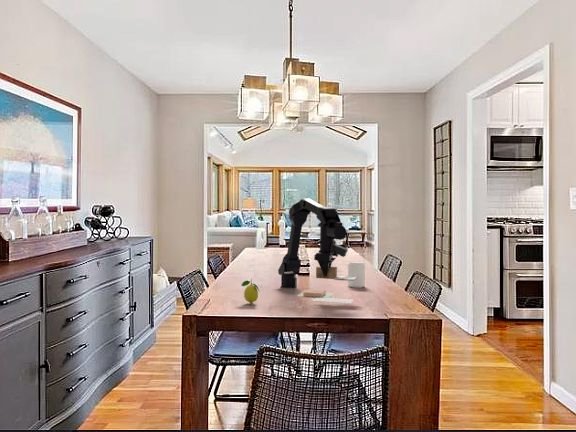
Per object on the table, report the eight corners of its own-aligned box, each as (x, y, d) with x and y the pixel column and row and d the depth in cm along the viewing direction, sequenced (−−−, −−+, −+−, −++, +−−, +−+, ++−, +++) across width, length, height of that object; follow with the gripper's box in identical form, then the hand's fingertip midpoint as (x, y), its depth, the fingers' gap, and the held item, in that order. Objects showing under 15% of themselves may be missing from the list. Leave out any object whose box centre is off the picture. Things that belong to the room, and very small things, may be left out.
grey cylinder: (364, 288, 245) (364, 263, 245) (347, 287, 247) (347, 262, 246) (365, 285, 253) (365, 261, 253) (348, 285, 255) (348, 260, 254)
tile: (308, 292, 229) (303, 296, 222) (308, 289, 229) (303, 292, 221) (325, 294, 227) (321, 297, 219) (325, 290, 227) (321, 293, 219)
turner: (314, 278, 212) (315, 267, 212) (318, 276, 219) (319, 265, 218) (353, 281, 207) (353, 269, 207) (356, 278, 214) (356, 267, 214)
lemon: (240, 302, 208) (241, 277, 208) (254, 301, 210) (254, 277, 210) (246, 305, 202) (246, 280, 201) (260, 304, 204) (260, 279, 204)
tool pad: (312, 301, 212) (312, 300, 212) (316, 298, 220) (316, 297, 220) (350, 304, 207) (350, 303, 207) (354, 300, 215) (354, 299, 215)
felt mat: (296, 296, 222) (296, 295, 222) (303, 292, 233) (303, 291, 233) (328, 299, 218) (328, 298, 218) (334, 294, 229) (334, 293, 229)
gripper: (341, 240, 202) (341, 280, 203) (350, 237, 220) (349, 273, 221) (314, 239, 206) (313, 278, 206) (324, 236, 223) (324, 272, 224)
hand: (326, 275), depth 214 cm, fingers closed on turner, 3 cm apart
